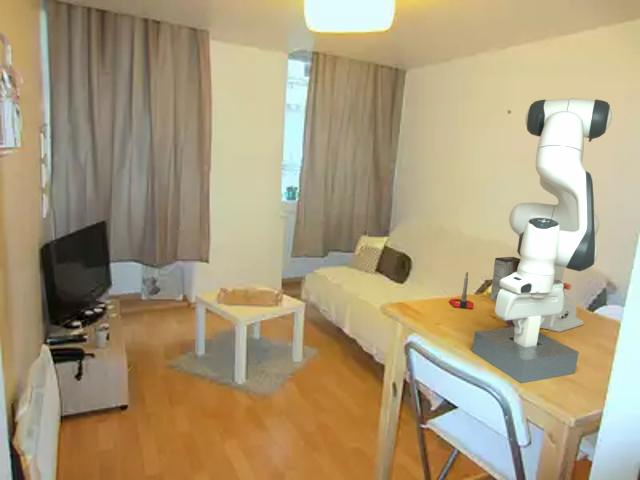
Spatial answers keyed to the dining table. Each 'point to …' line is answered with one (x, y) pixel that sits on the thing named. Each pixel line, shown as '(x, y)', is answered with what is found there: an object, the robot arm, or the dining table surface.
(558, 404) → the dining table surface
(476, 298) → the dining table surface
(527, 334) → the peg
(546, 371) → the socket block
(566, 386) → the dining table surface
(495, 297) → the coffee box
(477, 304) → the dining table surface
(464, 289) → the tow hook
